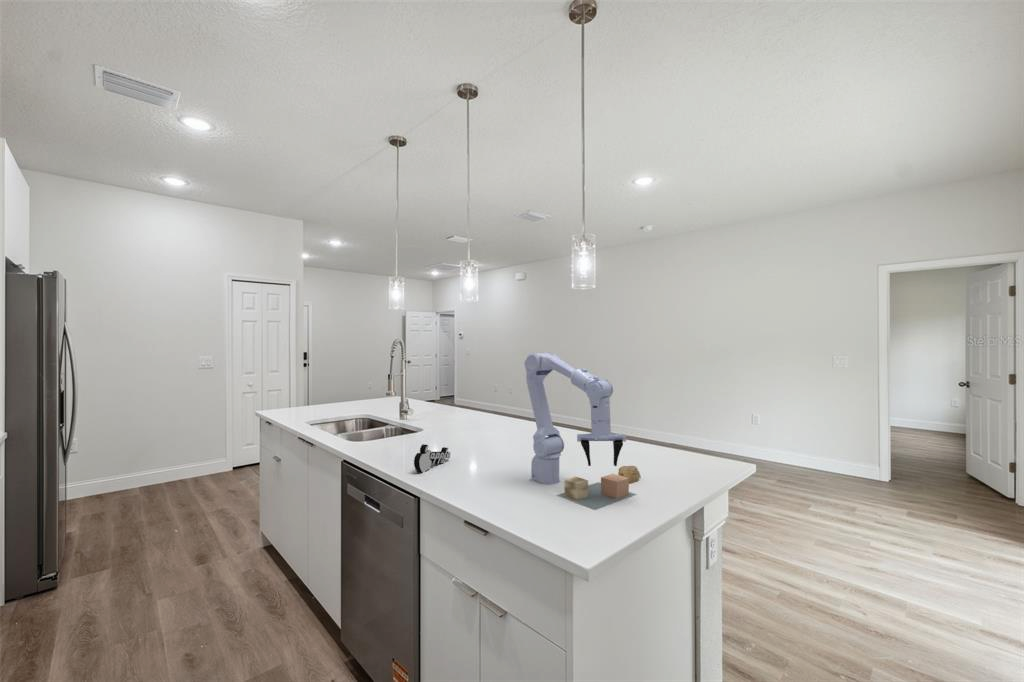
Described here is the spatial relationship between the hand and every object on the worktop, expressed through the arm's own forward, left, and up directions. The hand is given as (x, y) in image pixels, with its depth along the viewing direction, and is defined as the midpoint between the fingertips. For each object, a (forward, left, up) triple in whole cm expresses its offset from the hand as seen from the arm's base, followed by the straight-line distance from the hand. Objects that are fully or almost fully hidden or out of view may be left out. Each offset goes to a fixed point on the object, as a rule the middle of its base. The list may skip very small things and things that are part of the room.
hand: (602, 465), depth 131 cm
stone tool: (-5, +22, -11) cm, 25 cm away
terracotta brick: (+1, +5, -10) cm, 11 cm away
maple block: (-5, -6, -10) cm, 12 cm away
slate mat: (-2, 0, -11) cm, 11 cm away
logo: (-62, -23, -11) cm, 67 cm away
